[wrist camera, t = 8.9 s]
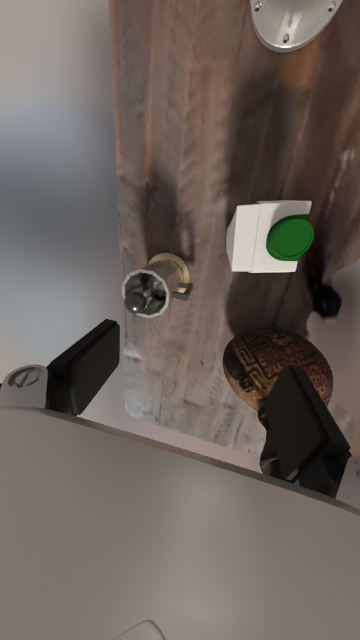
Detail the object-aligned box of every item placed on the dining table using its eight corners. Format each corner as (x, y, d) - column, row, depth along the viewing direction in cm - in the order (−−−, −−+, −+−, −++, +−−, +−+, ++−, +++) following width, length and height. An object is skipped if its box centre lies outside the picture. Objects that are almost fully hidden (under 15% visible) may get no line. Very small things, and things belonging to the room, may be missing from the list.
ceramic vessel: (324, 335, 43) (494, 496, 17) (279, 383, 51) (344, 544, 25) (243, 298, 43) (282, 401, 17) (210, 352, 51) (202, 480, 25)
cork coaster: (146, 249, 43) (146, 249, 42) (192, 256, 42) (192, 257, 41) (144, 294, 48) (144, 294, 47) (185, 302, 46) (185, 302, 46)
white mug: (151, 256, 43) (121, 265, 30) (198, 264, 42) (188, 277, 29) (149, 290, 47) (122, 312, 34) (192, 298, 45) (181, 324, 32)
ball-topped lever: (147, 265, 39) (110, 281, 25) (176, 269, 38) (152, 289, 25) (146, 292, 42) (111, 321, 28) (173, 298, 41) (150, 329, 27)
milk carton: (266, 259, 39) (306, 280, 21) (222, 259, 41) (226, 279, 23) (274, 211, 35) (330, 188, 17) (225, 214, 37) (232, 195, 19)
